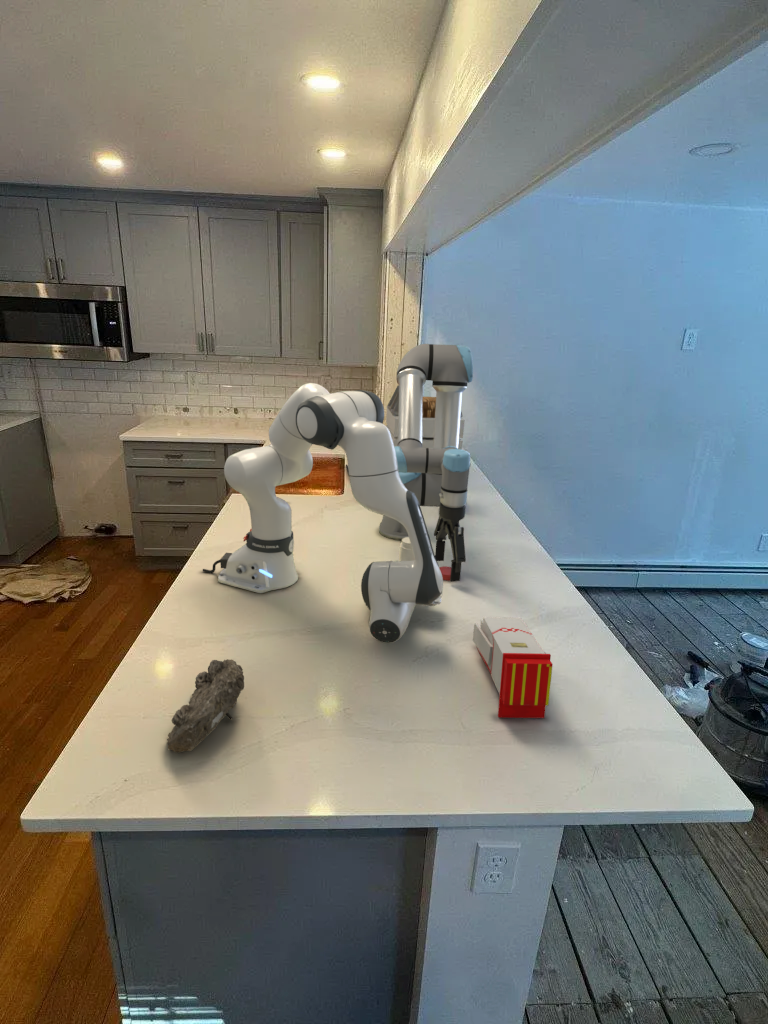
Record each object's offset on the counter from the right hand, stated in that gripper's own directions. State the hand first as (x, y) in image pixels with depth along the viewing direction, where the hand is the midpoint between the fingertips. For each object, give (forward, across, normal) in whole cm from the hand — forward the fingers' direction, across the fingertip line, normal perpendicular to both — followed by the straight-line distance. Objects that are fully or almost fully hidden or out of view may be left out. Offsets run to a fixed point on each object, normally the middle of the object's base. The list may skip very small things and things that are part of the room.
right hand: (446, 570), depth 170 cm
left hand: (-5, +11, -16) cm, 20 cm away
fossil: (+1, +51, -66) cm, 83 cm away
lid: (0, +1, 0) cm, 1 cm away
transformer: (+3, -108, +26) cm, 111 cm away
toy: (+1, +50, -5) cm, 50 cm away
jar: (+1, +12, -16) cm, 20 cm away
